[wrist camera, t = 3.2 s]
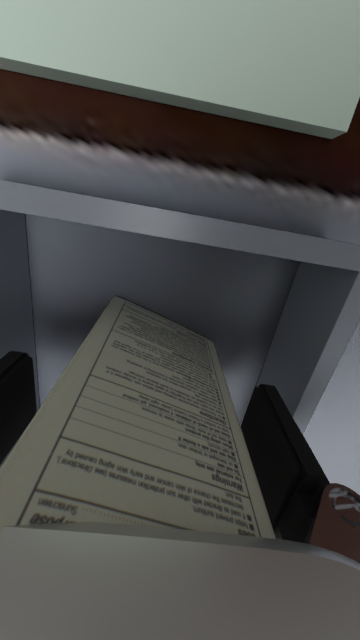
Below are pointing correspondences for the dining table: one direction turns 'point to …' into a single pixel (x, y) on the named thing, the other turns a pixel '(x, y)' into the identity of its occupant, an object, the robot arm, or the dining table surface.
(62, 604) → the robot arm
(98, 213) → the bin
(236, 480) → the skincare box
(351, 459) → the dining table surface
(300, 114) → the pad
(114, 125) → the dining table surface
